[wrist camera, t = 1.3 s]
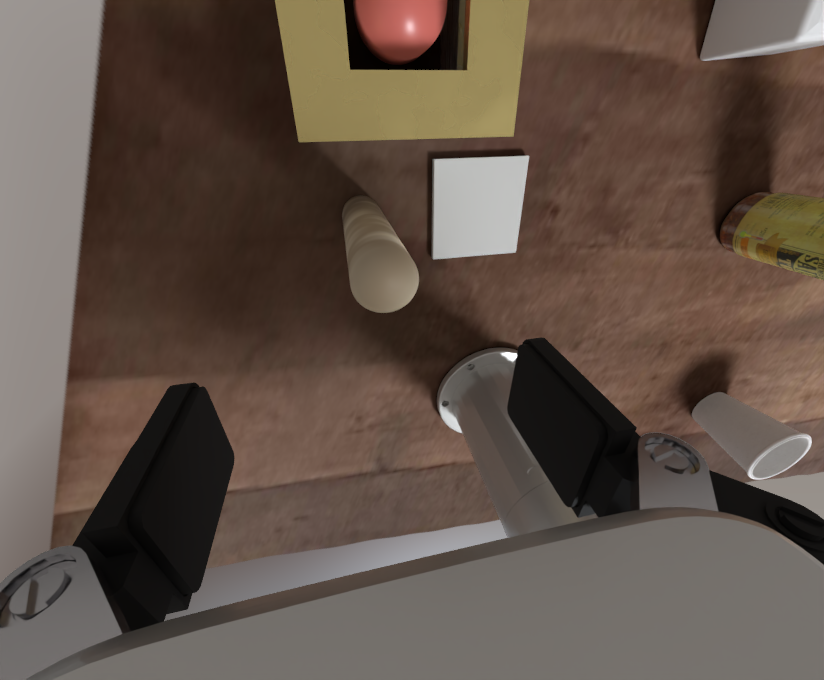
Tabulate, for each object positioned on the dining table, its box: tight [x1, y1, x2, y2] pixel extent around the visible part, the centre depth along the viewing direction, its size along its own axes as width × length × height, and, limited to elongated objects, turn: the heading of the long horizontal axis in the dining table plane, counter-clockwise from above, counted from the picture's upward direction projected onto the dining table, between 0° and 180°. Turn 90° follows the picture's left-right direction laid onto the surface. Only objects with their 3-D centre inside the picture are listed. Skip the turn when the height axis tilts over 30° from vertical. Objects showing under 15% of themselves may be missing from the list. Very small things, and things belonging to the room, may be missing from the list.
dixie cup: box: [692, 392, 812, 479], centre depth 48 cm, size 8×8×10 cm
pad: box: [432, 155, 529, 259], centre depth 30 cm, size 8×8×1 cm
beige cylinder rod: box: [342, 195, 419, 313], centre depth 22 cm, size 3×3×15 cm
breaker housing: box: [275, 0, 529, 142], centre depth 20 cm, size 13×13×7 cm
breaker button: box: [353, 0, 448, 65], centre depth 19 cm, size 5×5×2 cm
